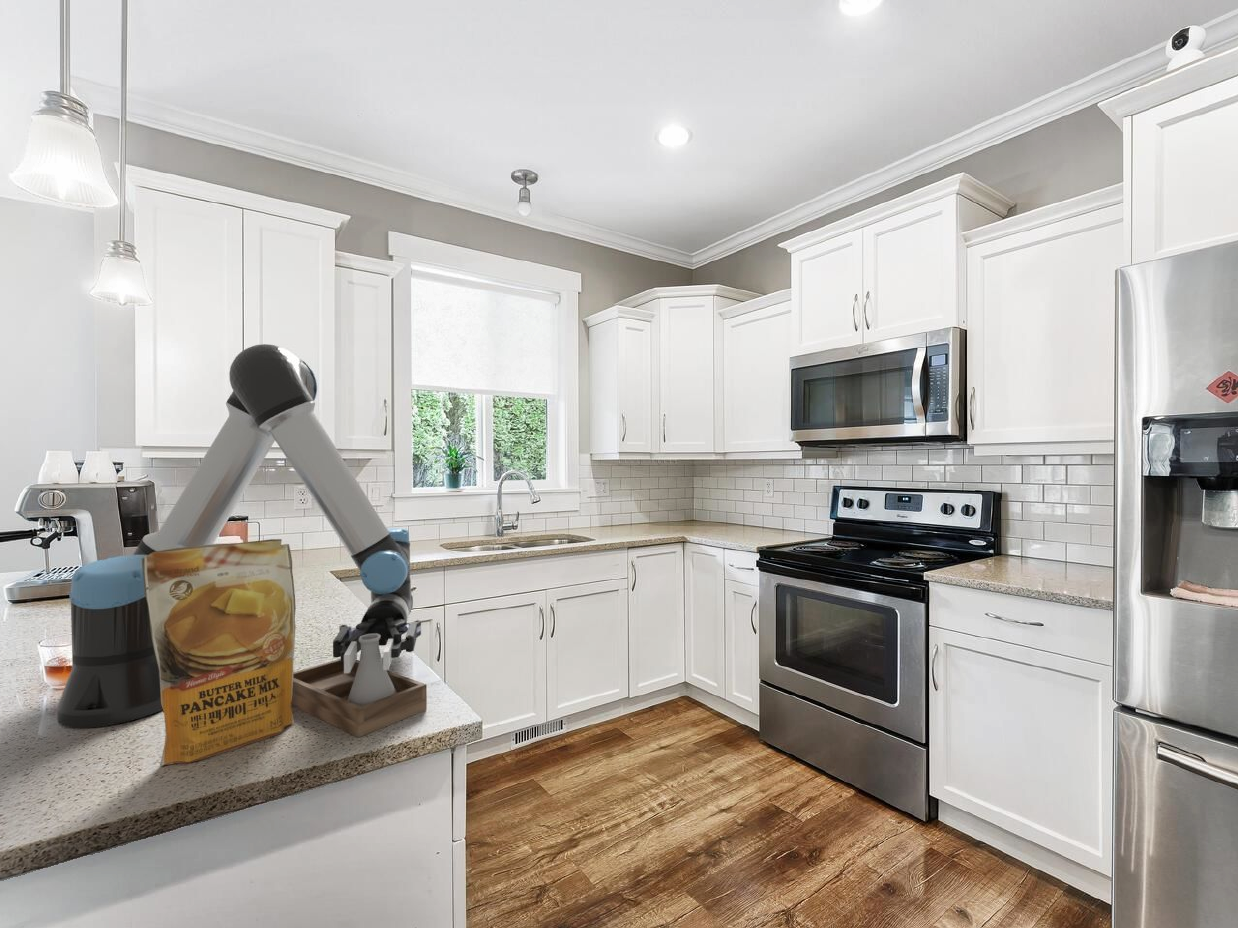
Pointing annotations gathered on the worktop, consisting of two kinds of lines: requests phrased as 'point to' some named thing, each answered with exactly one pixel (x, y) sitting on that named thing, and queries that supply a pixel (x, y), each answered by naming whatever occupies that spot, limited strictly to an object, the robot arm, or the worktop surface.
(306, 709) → the wooden tray
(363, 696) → the flask
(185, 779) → the worktop surface
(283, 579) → the pancake mix bag
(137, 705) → the robot arm
